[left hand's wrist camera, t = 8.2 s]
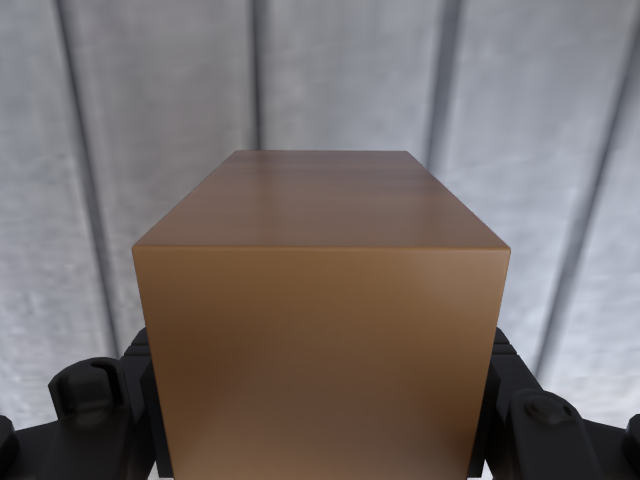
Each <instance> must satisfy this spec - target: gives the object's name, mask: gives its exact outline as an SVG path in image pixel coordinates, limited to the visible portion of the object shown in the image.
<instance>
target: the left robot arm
mask: <svg viewBox="0 0 640 480" xmlns="http://www.w3.org/2000/svg"><path fill="white" fill-rule="evenodd" d="M48 388H49V391H50V394H51V398H52V401H53V404H54V407H55V411H56V414H57V417H58V420H57V421H54V422H50V423H47V424H43V425H38V426H34V427H30V428H26V429H21V430H17V431H15V430H14V427H13V424H12V421H11V420H9V419H8V418H7V417H6V416H2V415H0V480H148V477H149V474H150V472H151V469H152V467H153V465H154V462H155V460H156V465H157V470H158V475H159V478H174V477H173V472H172V466H171V461H170V456H169V450H168V445H167V439H166V434H165V428H164V423H163V418H162V412H161V407H160V401H159V396H158V390H157V385H156V379H155V374H154V369H153V363H152V358H151V352H150V347H149V341H148V336H147V330H146V327H145V328H143V329H142V330H140V331H139V333H138V334H137V336H136V337H135V339H134V340H133V341H132V343H131V346H129V347H128V349H127V350H126V351H125V353H124V356H122V357H121V359H120V360H119V361H118V360H117V359H113V358H108V357H97V358H90V359H87V360H83V361H79V362H77V363H75V364H73V365H71V366H68V367H66V368H65V369H63V370H62V371H61V372H59V373H58V374H57V375H55V376H54V378H53V379H52V380H51V382H50V383H49V384H48ZM485 459H486V462H487V464H488V467H489V469H490V471H491V474H492V476H493V479H492V480H640V414H636V415H635V416H633V417H632V418H631V419H630V420H629V423H628V425H627V428H626V429H622V428H618V427H613V426H609V425H605V424H601V423H596V422H592V421H589V420H586V419H582V417H581V416H580V414H579V413H578V411H577V410H576V408H575V407H573V406H572V405H571V404H570V403H569V402H567V401H566V400H565V399H563V398H561V397H559V396H557V395H556V394H554V393H551V392H548V391H544V390H543V389H542V387H541V386H540V385H539V383H538V382H537V380H536V379H535V377H534V376H533V375H532V373H531V372H530V370H529V369H528V368H527V366H526V365H525V363H524V362H523V360H522V359H521V358H520V356H519V355H517V352H516V350H515V349H514V348H513V346H512V345H511V344H510V342H509V340H508V339H507V338H506V336H505V335H504V333H503V332H502V331H501V329H499V328H498V327H496V332H495V337H494V342H493V347H492V353H491V358H490V363H489V368H488V373H487V379H486V384H485V389H484V394H483V399H482V405H481V410H480V415H479V420H478V425H477V430H476V436H475V441H474V446H473V451H472V456H471V462H470V467H469V472H468V477H467V478H481V476H482V471H483V466H484V462H485Z"/></svg>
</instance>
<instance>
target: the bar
mask: <svg viewBox="0 0 640 480" xmlns="http://www.w3.org/2000/svg"><path fill="white" fill-rule="evenodd" d="M132 254H133V260H134V265H135V271H136V276H137V282H138V287H139V292H140V298H141V303H142V309H143V314H144V320H145V325H146V330H147V336H148V341H149V347H150V352H151V358H152V363H153V369H154V374H155V379H156V385H157V390H158V396H159V401H160V407H161V412H162V418H163V423H164V428H165V434H166V439H167V445H168V450H169V456H170V461H171V466H172V472H173V477H174V480H467V477H468V472H469V467H470V462H471V456H472V451H473V446H474V441H475V436H476V430H477V425H478V420H479V415H480V410H481V405H482V399H483V394H484V389H485V384H486V379H487V373H488V368H489V363H490V358H491V353H492V347H493V342H494V337H495V332H496V327H497V321H498V316H499V311H500V306H501V301H502V296H503V290H504V285H505V280H506V275H507V270H508V264H509V259H510V254H511V249H510V247H509V246H508V245H507V244H506V243H505V242H504V241H503V240H502V239H501V238H499V237H498V236H497V235H496V234H495V233H494V232H493V231H492V230H491V229H490V228H489V227H488V226H487V225H486V224H484V223H483V222H482V221H481V220H480V219H479V218H478V217H477V216H476V215H475V214H474V213H473V212H472V211H471V210H470V209H468V208H467V207H466V206H465V205H464V204H463V203H462V202H461V201H460V200H459V199H458V198H457V197H456V196H455V195H454V194H452V193H451V192H450V191H449V190H448V189H447V188H446V187H445V186H444V185H443V184H442V183H441V182H440V181H439V180H437V179H436V178H435V177H434V176H433V175H432V174H431V173H430V172H429V171H428V170H427V169H426V168H425V167H424V166H423V165H421V164H420V163H419V162H418V161H417V160H416V159H415V158H414V157H413V156H412V155H411V154H410V153H409V152H407V151H280V150H237V151H235V152H234V153H233V154H232V155H231V156H230V157H228V158H227V159H226V160H225V161H224V162H223V163H222V164H221V165H220V166H219V167H218V168H217V169H215V170H214V171H213V172H212V173H211V174H210V175H209V176H208V177H207V178H206V179H205V180H204V181H202V182H201V183H200V184H199V185H198V186H197V187H196V188H195V189H194V190H193V191H192V192H191V193H189V194H188V195H187V196H186V197H185V198H184V199H183V200H182V201H181V202H180V203H179V204H177V205H176V206H175V207H174V208H173V209H172V210H171V211H170V212H169V213H168V214H167V215H166V216H164V217H163V218H162V219H161V220H160V221H159V222H158V223H157V224H156V225H155V226H154V227H153V228H151V229H150V230H149V231H148V232H147V233H146V234H145V235H144V236H143V237H142V238H141V239H140V240H138V241H137V242H136V243H135V244H134V245H133V246H132Z"/></svg>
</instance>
